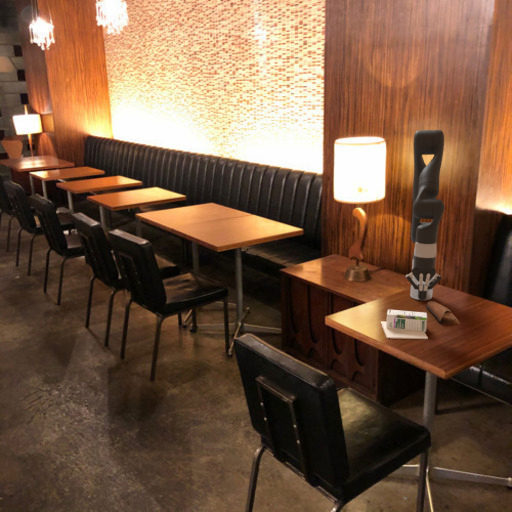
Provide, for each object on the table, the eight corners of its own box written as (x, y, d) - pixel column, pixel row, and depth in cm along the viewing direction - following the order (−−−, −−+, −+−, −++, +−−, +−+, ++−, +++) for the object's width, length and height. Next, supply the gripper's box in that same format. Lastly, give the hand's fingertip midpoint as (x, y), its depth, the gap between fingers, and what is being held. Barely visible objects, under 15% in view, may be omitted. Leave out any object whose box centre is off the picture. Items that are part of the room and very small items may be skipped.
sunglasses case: (462, 324, 207) (454, 310, 206) (446, 333, 208) (438, 319, 207) (445, 307, 225) (438, 294, 223) (430, 315, 225) (423, 302, 224)
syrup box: (426, 332, 199) (385, 328, 203) (425, 326, 205) (386, 322, 208) (427, 318, 198) (386, 314, 201) (427, 312, 203) (387, 308, 207)
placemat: (380, 322, 210) (380, 321, 210) (418, 323, 209) (418, 321, 209) (386, 338, 196) (386, 337, 195) (427, 339, 194) (427, 337, 194)
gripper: (441, 251, 196) (437, 296, 201) (404, 251, 197) (401, 296, 202) (446, 257, 189) (442, 303, 194) (408, 256, 190) (405, 303, 195)
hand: (421, 299), depth 198 cm, fingers closed
